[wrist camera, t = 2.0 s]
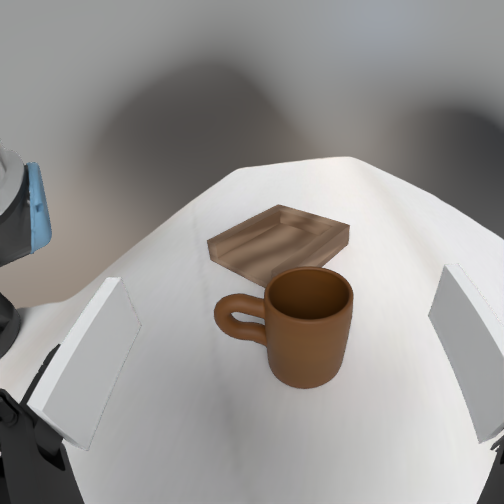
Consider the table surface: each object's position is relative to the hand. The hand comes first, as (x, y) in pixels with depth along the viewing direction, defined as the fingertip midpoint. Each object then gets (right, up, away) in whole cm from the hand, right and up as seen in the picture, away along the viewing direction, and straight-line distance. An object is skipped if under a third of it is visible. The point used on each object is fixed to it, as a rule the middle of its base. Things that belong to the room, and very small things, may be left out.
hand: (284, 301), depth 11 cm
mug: (+2, -10, +17) cm, 20 cm away
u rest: (+3, +2, +36) cm, 36 cm away
